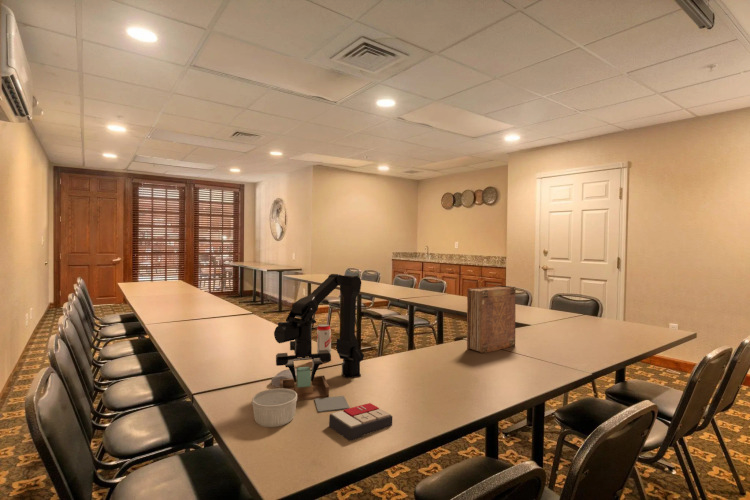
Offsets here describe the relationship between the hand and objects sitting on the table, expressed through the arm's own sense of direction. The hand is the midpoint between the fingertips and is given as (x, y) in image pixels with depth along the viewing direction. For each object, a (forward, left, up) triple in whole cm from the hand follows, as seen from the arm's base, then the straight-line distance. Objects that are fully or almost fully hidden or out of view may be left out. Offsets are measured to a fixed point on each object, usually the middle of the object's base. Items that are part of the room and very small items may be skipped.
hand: (303, 381), depth 137 cm
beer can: (-12, -36, -4) cm, 38 cm away
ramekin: (+10, +18, -4) cm, 21 cm away
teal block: (0, 0, -1) cm, 1 cm away
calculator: (-14, +29, -5) cm, 32 cm away
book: (-96, -35, -4) cm, 102 cm away
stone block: (+5, -13, -4) cm, 15 cm away
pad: (-8, +12, -4) cm, 15 cm away
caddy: (0, 0, -4) cm, 4 cm away
